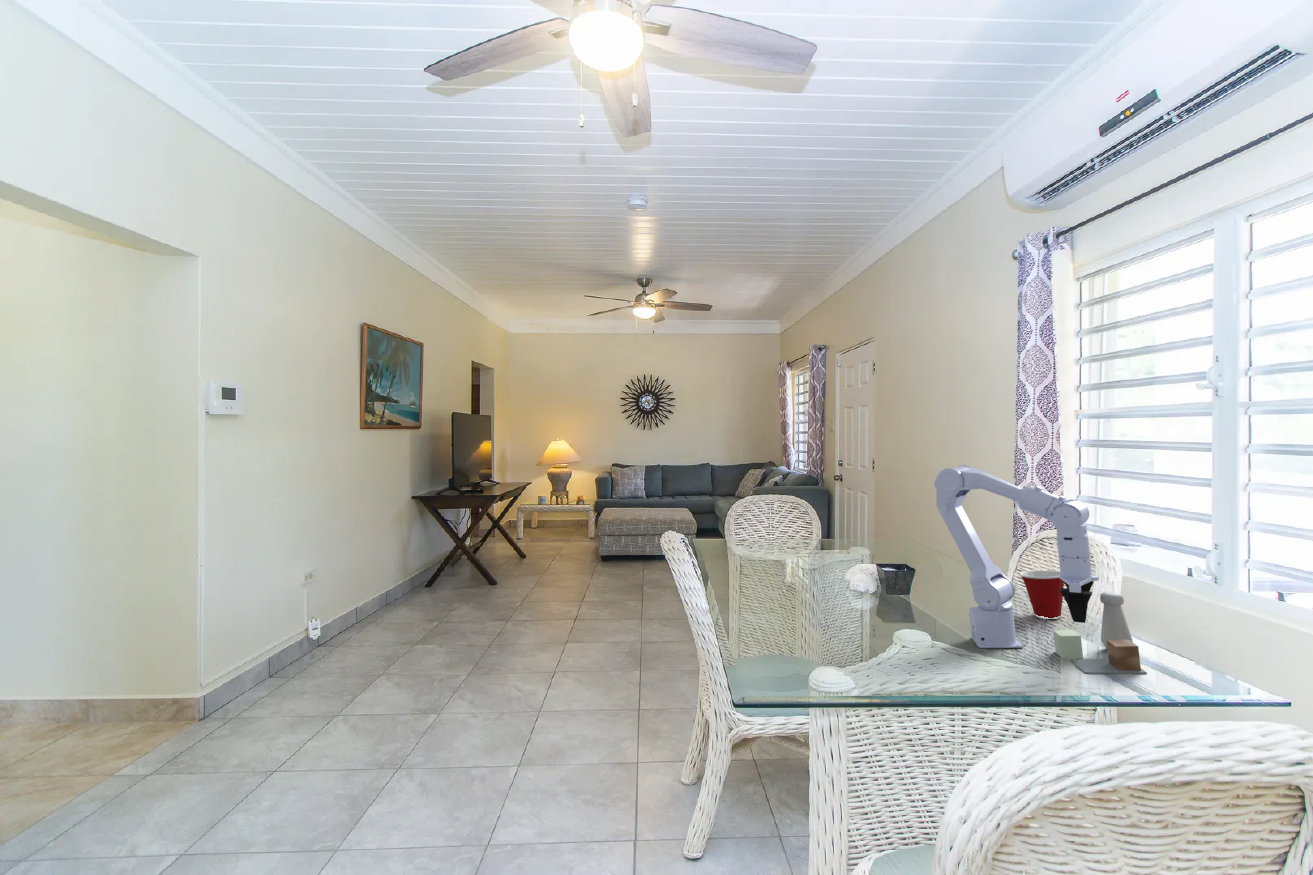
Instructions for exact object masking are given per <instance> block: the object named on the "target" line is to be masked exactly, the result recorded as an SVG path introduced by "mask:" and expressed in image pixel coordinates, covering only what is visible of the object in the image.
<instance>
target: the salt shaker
mask: <svg viewBox="0 0 1313 875" xmlns="http://www.w3.org/2000/svg"><path fill="white" fill-rule="evenodd" d="M1099 600H1100V603H1102V604H1103V610H1102V611H1103V612H1102V620H1101V630H1100V632H1101V633H1100V641H1101V643H1102V644H1103V647H1105V649H1106V650H1107V651H1108V648H1107V640H1130V641H1131V642H1133V643H1134V641H1133V636H1132V634H1131V631H1130V628H1129V625H1128V621H1127V618H1126V616H1125V613H1124V609H1123V606H1122V605H1123V604H1124V603H1125V599H1124V595H1123V594H1121V593H1120V592H1115V591H1104V592H1103V591H1102V592H1101V593H1100V594H1099Z"/></svg>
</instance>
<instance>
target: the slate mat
mask: <svg viewBox="0 0 1313 875" xmlns="http://www.w3.org/2000/svg"><path fill="white" fill-rule="evenodd" d="M1069 661H1070V662H1071V663H1073V664H1074V665H1075V666H1076V667H1077V668H1078V669H1079V670H1080V671H1081V672H1082V673H1084V674H1085V675H1087V674H1089V675H1090V674H1091V675H1096V674H1098V675H1099V674H1100V675H1102V674H1103V675H1105V674H1106V675H1113V674H1114V675H1120V674H1121V675H1124V674H1126V675H1128V674H1129V675H1140V674H1141V675H1147V674H1148V673H1147V671H1146V670H1144V669H1143V668H1141V671H1134V670H1117V669H1116V668H1115V667H1113V666H1112V665H1111V664H1110V663H1109V658H1069Z"/></svg>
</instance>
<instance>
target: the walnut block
mask: <svg viewBox="0 0 1313 875" xmlns="http://www.w3.org/2000/svg"><path fill="white" fill-rule="evenodd" d="M1107 648H1108V650H1107V655H1108V659H1109V663H1110V664H1111V665H1112V666H1113V667H1115V668H1116V669H1117V670H1134V671H1141V669H1142V667H1141V666H1142V665H1141V657H1140V650H1139V649H1140V648H1139V645H1137V644H1135V643H1134V641H1133V642H1131V641H1130V640H1107Z"/></svg>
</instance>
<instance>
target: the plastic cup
mask: <svg viewBox="0 0 1313 875" xmlns="http://www.w3.org/2000/svg"><path fill="white" fill-rule="evenodd" d="M1019 576H1020V577H1021V578H1022V581H1023V583H1024V585H1025V588H1026V591H1027V592H1026V593H1027V596H1028V598H1029V601H1030V604H1031V606H1032V607H1031V608H1032V611H1033V613H1035V614H1036V615H1038V616H1044V617H1048V618H1054V617H1058V616H1061V615H1062V609H1063V608H1062V607H1063V600H1064V599H1063V598H1064V597H1063V596H1062V594H1061V592H1060V589H1061V588H1064V586H1065V584H1064V582H1063V580H1061V579H1060V570H1059V571H1058V570H1030V571H1029V570H1028V571H1023V572H1020V573H1019ZM1035 614H1034V615H1035Z"/></svg>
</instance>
